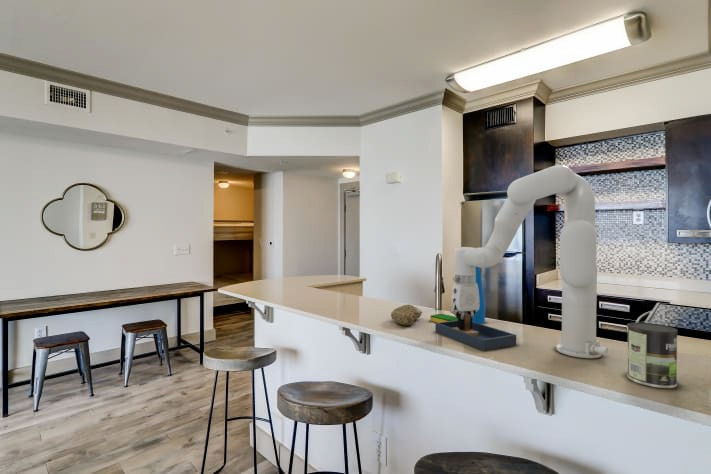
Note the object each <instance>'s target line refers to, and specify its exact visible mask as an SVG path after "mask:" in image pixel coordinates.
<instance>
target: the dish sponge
mask: <svg viewBox="0 0 711 474" xmlns="http://www.w3.org/2000/svg"><path fill="white" fill-rule="evenodd" d="M429 320H430V322H434V323H440V322H448V321H455V320H458V318H456V316H455V315H450V314H445V313H436V314H431V315H430V319H429Z"/></svg>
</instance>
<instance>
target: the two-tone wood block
mask: <svg viewBox="0 0 711 474" xmlns="http://www.w3.org/2000/svg"><path fill="white" fill-rule="evenodd" d="M463 319H465V330H461V329H458V327H454V328H453V329H456V330H459V331H462V332H465V333H468V334H471V335H474V336H479V332H477V331H474V330H471V329H470V314H468V313H466V312H464V318H463Z"/></svg>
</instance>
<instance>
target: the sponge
mask: <svg viewBox="0 0 711 474" xmlns="http://www.w3.org/2000/svg"><path fill="white" fill-rule="evenodd" d="M422 314H423V311H422V310H421V309H420V308H419V307H417V306H414V305H412V304H403V305H401V306H399V307H396V308H394V309H393V310H392V311H391V313H390V317H391V319H392V320H393V321H394V322H395V323H397V324H398V325H400V326H401V325H402V326H409V325H411V324H413V323H414V322H415V321H416V319H419V318H420V317H421V316H422Z"/></svg>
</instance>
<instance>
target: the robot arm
mask: <svg viewBox="0 0 711 474" xmlns="http://www.w3.org/2000/svg"><path fill="white" fill-rule="evenodd" d="M506 195H507V198H506V200H505V201H504V203H503V204H502V206H501V208H500V209H499V211H498V213H497V215H496V216H495V219H494V227H493V231H492V234H491V236H490V237H489V239H488V241H487V242H486V244H485V246H482V247H471V246H459V247H458V246H457V247H456V248H455V249H454V277H453V278H452V281H453V282H454V283H453V286H452V291H451V308H450V310H449V311H450V313H451V314H453V316H455V317H456V318H458V329H461V330H465V319H463V318H464V313H468V314H470V329H472V318H474V314H475V313H476V312H477V311H478V310H479V307H480V301H479V290H478V285H477V283H476V267H480V269H487V268H488V269H489V268H491V267H494V266H496V265H497V264H499V263H500V261H501V260H502V259H503V257H504V256H505V254H506V253H507V251H508V249H509V248H510V246H511V244H512V242H513V240H514V238H515V237H516V235H517V232H518V231H519V229H520V227H521V225H522V224H523V222H524V221H525V219H526V217H527V215H529V212H530V211H531V209H532V208H533V206H534V204H536V201H537V200H541V199H543V198H547V197H549V196H552V195H559V196H561V197H562V199H563V202H564V203H563V204H564V206H563V207H564V208H563V211H564V220H563V221H564V223H563V224H564V225H563V227H562V228H561V230H560V234H559V265H558V266H559V267H558V268H559V275H560V278H561V279H562V282H561V283H562V284H561V285H562V286H561V343H558V344H557V345H555V346H556V347H555V349H556V351H557V352H558V353H561V354H563V355H566V356H569V357H573V358H579V359H599V358H601V357H603V356H607V355H608V352H609V348H608V347H605V346H601V342H600V340H597V301H598V299H597V297H598V295H597V294H598V293H597V290H598V268H597V237H598V233H597V229H596V199H595V198H596V197H595V193H594V190H593V187H592V186H591V184H590V183H589V182H588V180H586V179H585V178H584V177H583V176H581V175H579V174H577V173H575V172H574V171H573V169H572V168H570V167H568V166H566V165H564V164H563V165H561V164H556V165H552V166H549V167H547V168H544V169H541V170H539V171H536V172H533V173H531V174H528V175H524V176H522V177H520V178H517V179H514V180H513V181H512V182H511V183H510V184H509V185H508V187H507V191H506ZM469 311H470V312H469Z"/></svg>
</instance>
